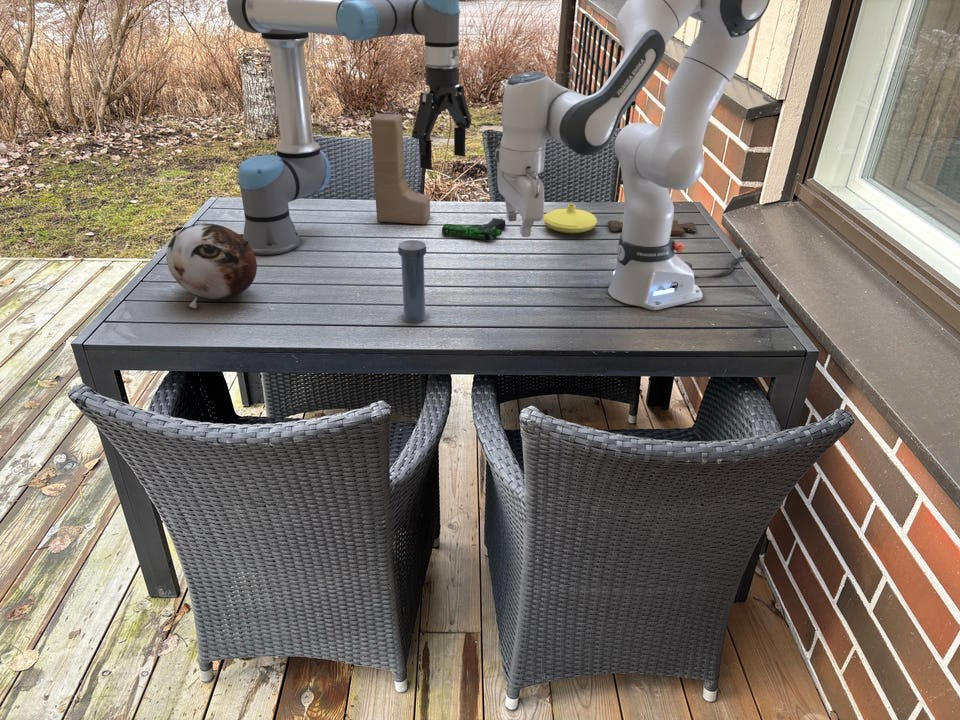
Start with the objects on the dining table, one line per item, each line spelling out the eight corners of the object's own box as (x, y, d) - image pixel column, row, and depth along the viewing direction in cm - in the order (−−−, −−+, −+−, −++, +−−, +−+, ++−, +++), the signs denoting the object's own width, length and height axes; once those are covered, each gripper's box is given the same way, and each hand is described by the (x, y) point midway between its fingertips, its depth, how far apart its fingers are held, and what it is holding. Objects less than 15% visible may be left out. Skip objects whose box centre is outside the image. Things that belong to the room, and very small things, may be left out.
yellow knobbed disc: (559, 216, 220) (561, 193, 217) (605, 227, 212) (608, 204, 209) (532, 230, 209) (533, 207, 206) (580, 242, 201) (582, 218, 198)
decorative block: (425, 225, 212) (423, 121, 196) (376, 222, 213) (369, 118, 198) (430, 216, 218) (428, 115, 203) (382, 213, 220) (376, 113, 204)
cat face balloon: (130, 285, 161) (164, 203, 163) (192, 308, 177) (221, 233, 178) (195, 307, 151) (229, 220, 152) (254, 330, 166) (285, 250, 168)
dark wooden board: (699, 237, 207) (691, 225, 216) (700, 231, 206) (692, 220, 215) (610, 234, 207) (606, 222, 216) (611, 228, 207) (607, 217, 215)
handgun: (511, 219, 210) (493, 234, 198) (511, 228, 211) (492, 244, 199) (461, 212, 215) (440, 226, 203) (461, 221, 217) (440, 236, 204)
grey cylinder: (405, 323, 159) (401, 252, 150) (402, 313, 163) (399, 243, 154) (426, 321, 160) (424, 250, 151) (424, 312, 164) (421, 242, 155)
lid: (399, 259, 150) (399, 251, 149) (397, 248, 155) (396, 240, 154) (427, 257, 151) (427, 249, 150) (424, 247, 156) (423, 239, 155)
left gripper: (421, 75, 148) (424, 176, 159) (486, 61, 166) (485, 153, 177) (393, 71, 151) (397, 171, 162) (460, 58, 169) (460, 148, 180)
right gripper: (555, 174, 133) (549, 245, 140) (521, 147, 150) (518, 211, 157) (522, 176, 131) (518, 247, 138) (492, 148, 148) (490, 212, 155)
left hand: (443, 161), depth 169 cm, fingers open, 13 cm apart
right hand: (518, 227), depth 148 cm, fingers open, 8 cm apart
